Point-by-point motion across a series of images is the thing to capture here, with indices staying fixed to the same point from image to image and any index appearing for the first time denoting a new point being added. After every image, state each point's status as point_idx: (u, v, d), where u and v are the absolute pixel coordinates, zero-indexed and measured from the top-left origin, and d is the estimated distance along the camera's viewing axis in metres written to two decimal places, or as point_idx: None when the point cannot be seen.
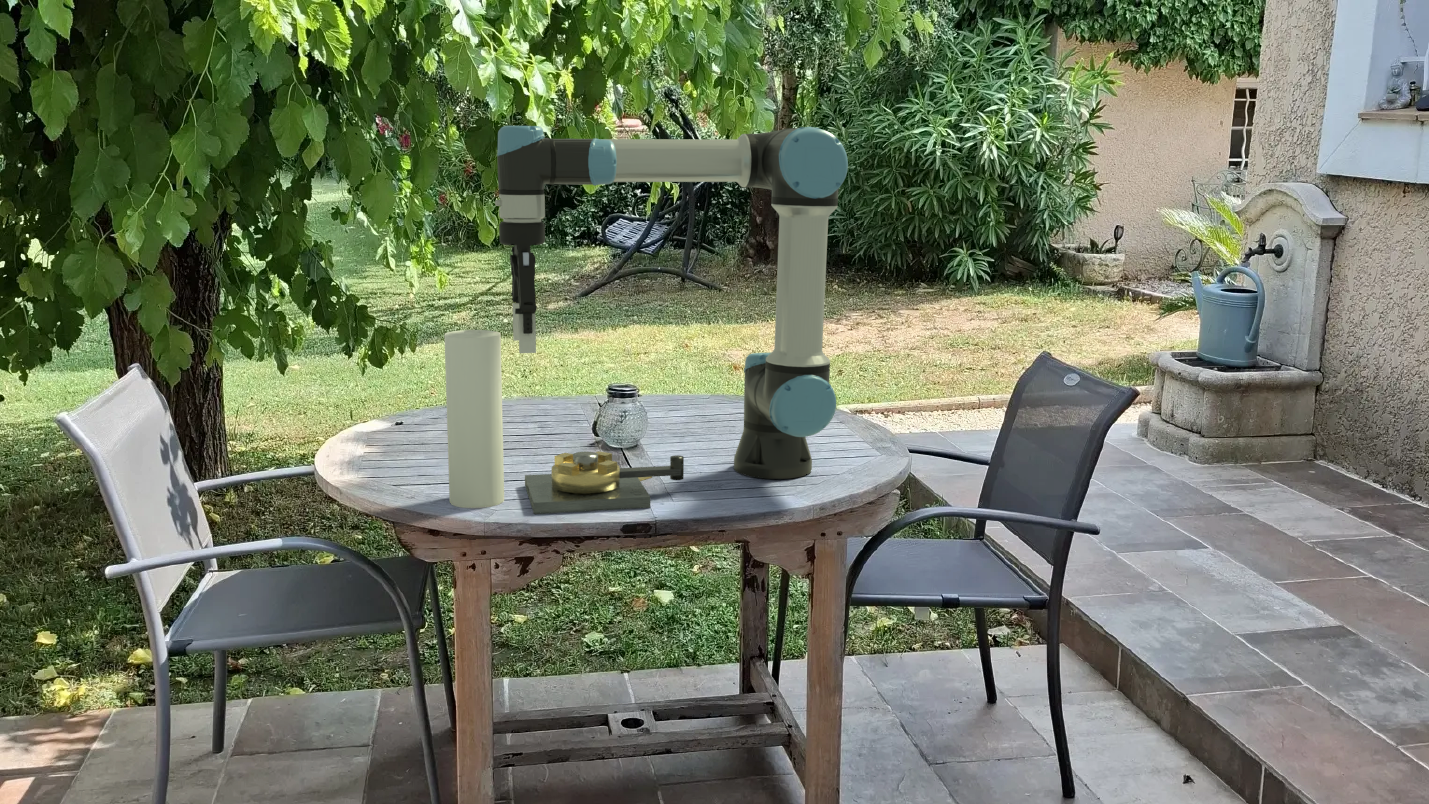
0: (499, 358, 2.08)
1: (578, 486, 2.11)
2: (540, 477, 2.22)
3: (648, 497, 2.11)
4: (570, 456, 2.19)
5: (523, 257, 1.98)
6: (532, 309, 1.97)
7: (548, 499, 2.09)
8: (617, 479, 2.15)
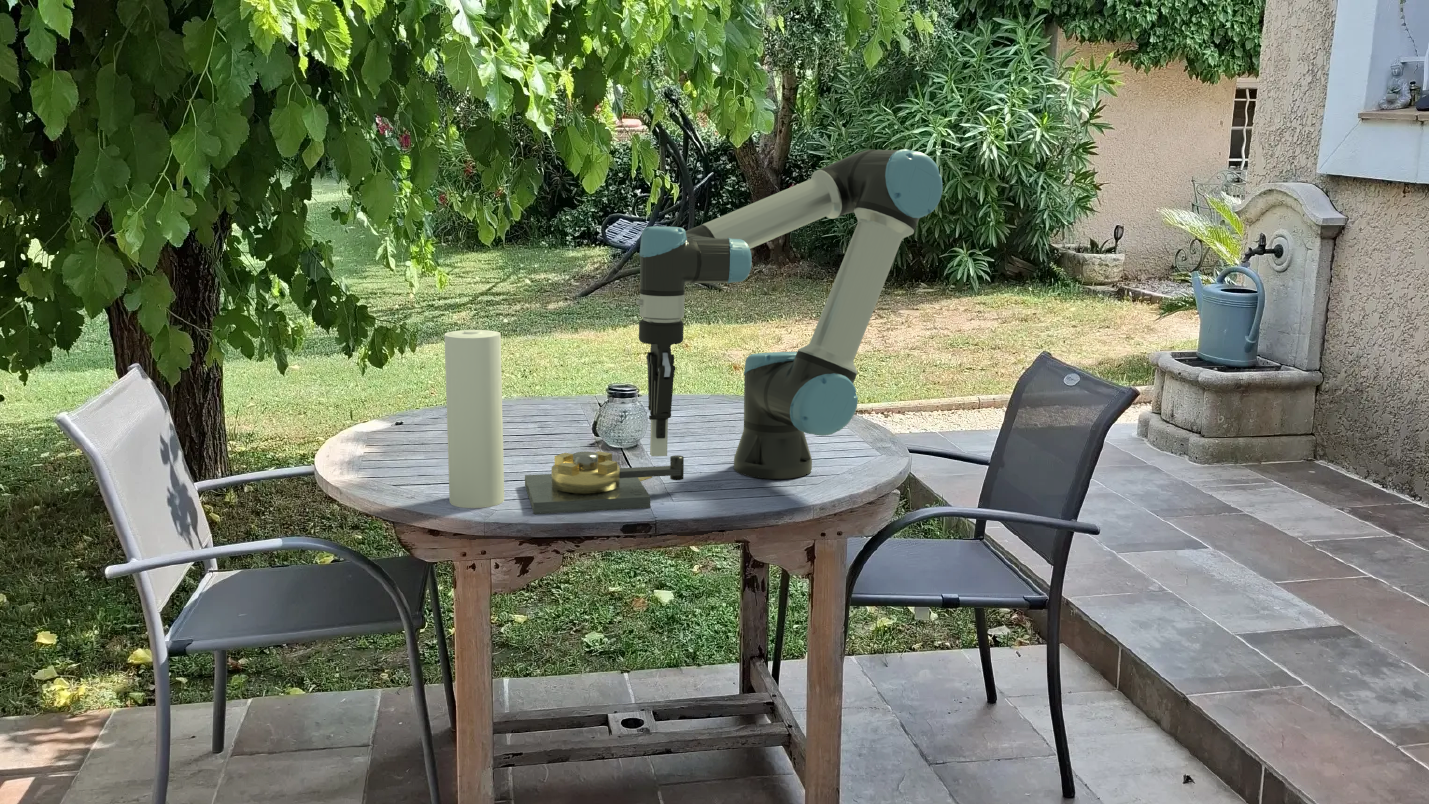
0: (499, 358, 2.08)
1: (578, 486, 2.11)
2: (540, 477, 2.22)
3: (648, 497, 2.11)
4: (570, 456, 2.19)
5: (665, 372, 2.02)
6: (667, 416, 2.06)
7: (548, 499, 2.09)
8: (617, 479, 2.15)
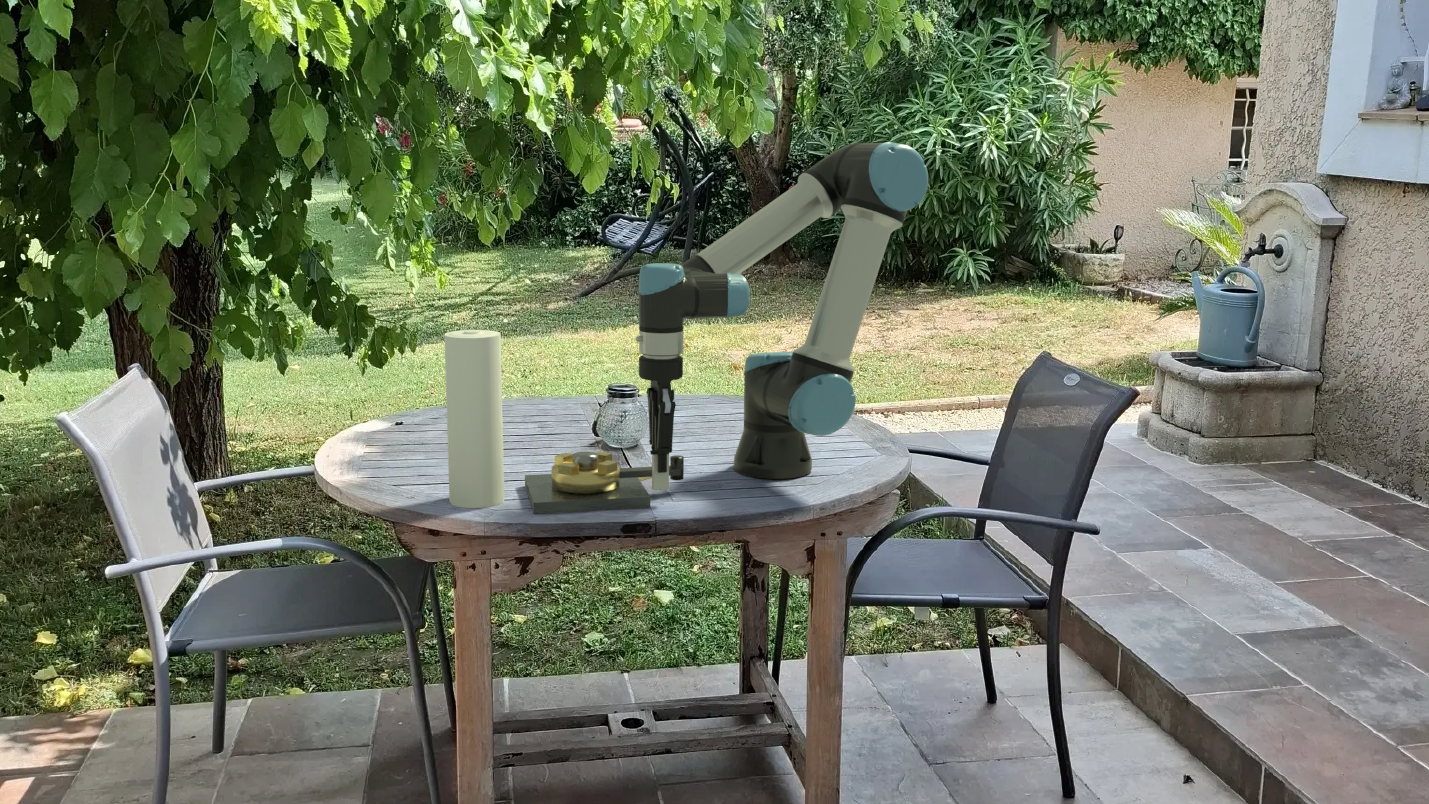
0: (499, 358, 2.08)
1: (578, 486, 2.11)
2: (540, 477, 2.22)
3: (648, 497, 2.11)
4: (570, 456, 2.19)
5: (665, 408, 2.04)
6: (668, 451, 2.08)
7: (548, 499, 2.09)
8: (617, 479, 2.15)
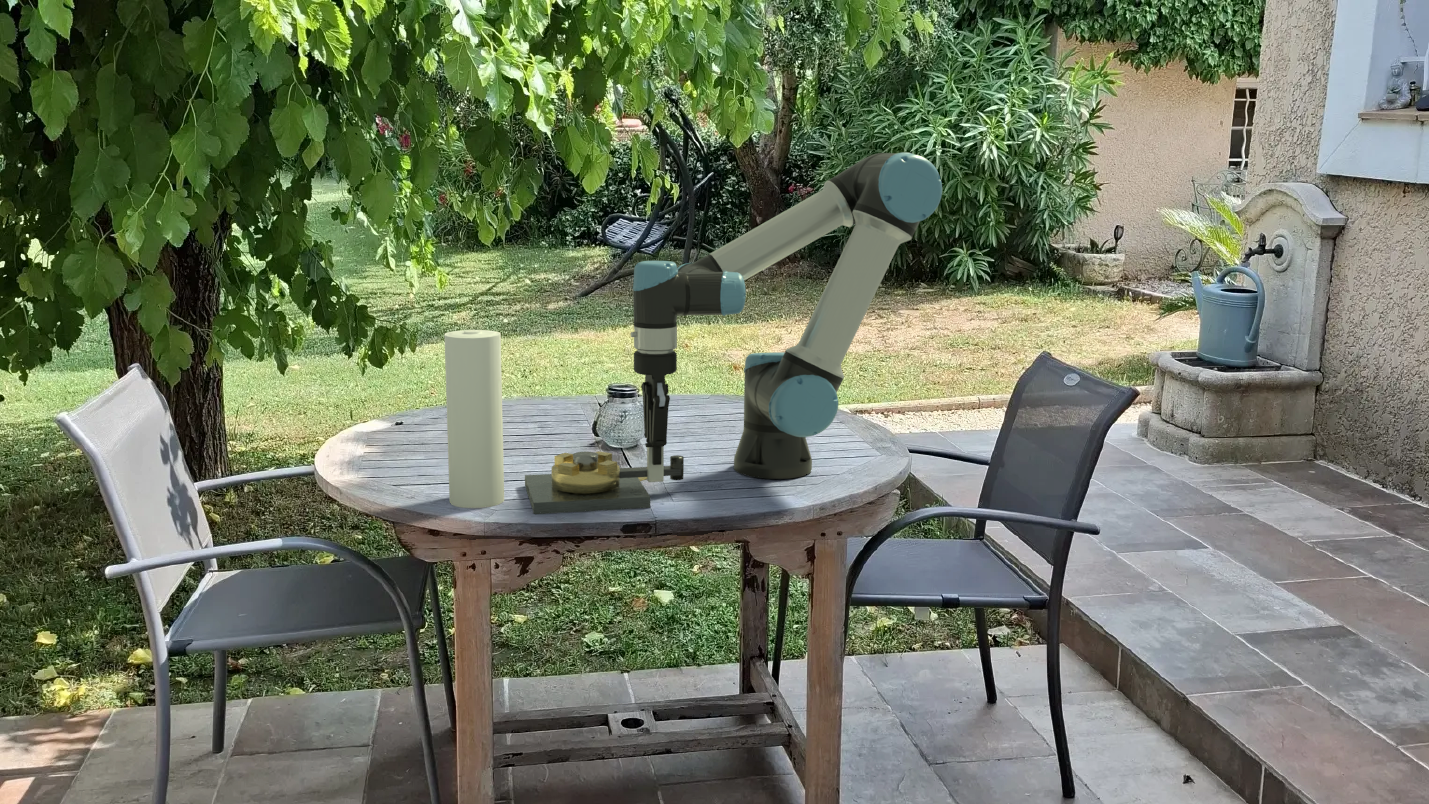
0: (499, 358, 2.08)
1: (579, 486, 2.11)
2: (540, 477, 2.22)
3: (648, 497, 2.11)
4: (570, 456, 2.19)
5: (660, 402, 2.09)
6: (663, 443, 2.13)
7: (548, 499, 2.09)
8: (617, 479, 2.15)
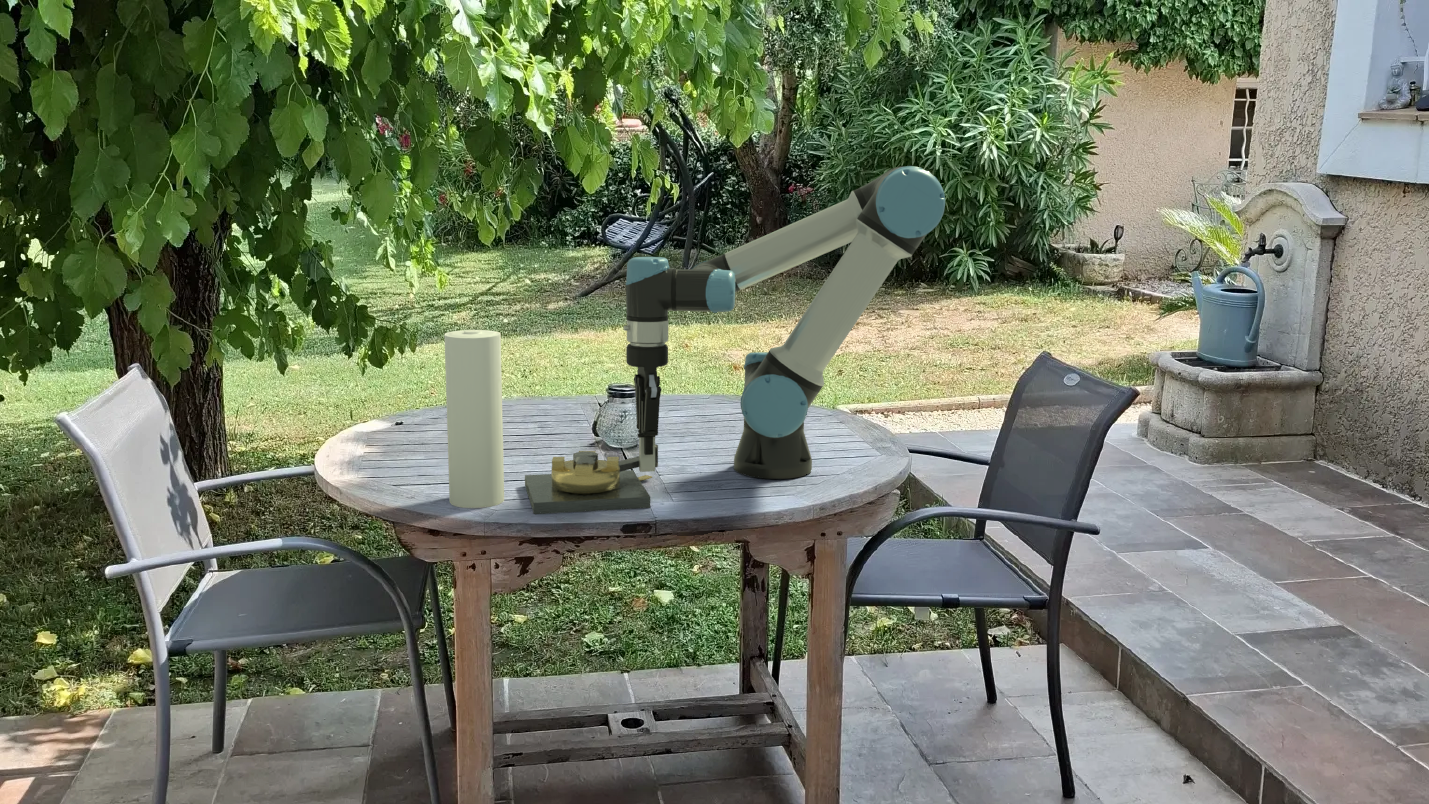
0: (499, 358, 2.08)
1: (599, 485, 2.12)
2: (540, 477, 2.22)
3: (648, 497, 2.11)
4: (564, 459, 2.17)
5: (651, 393, 2.16)
6: (654, 434, 2.20)
7: (548, 499, 2.09)
8: None
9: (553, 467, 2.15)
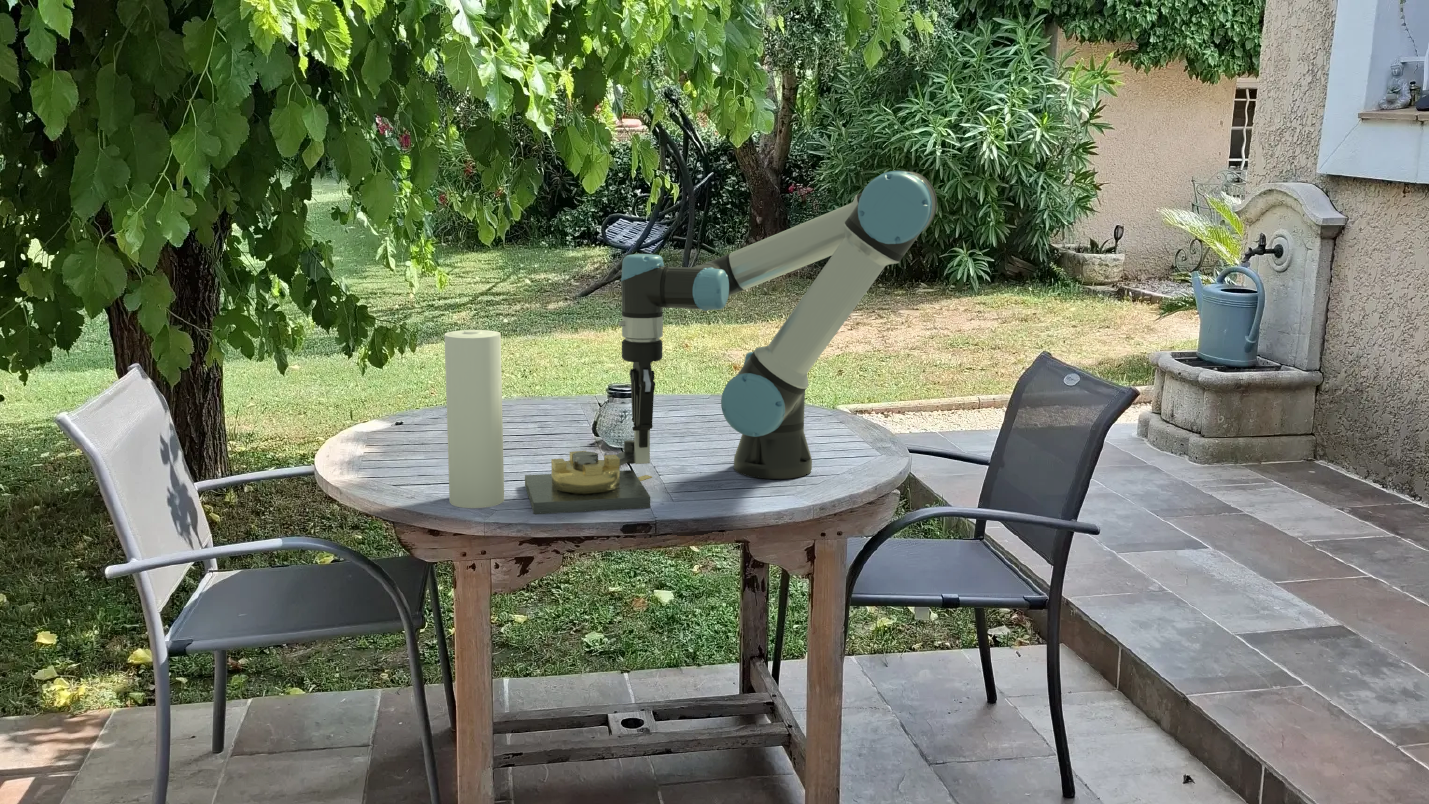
0: (499, 358, 2.08)
1: (608, 484, 2.13)
2: (540, 477, 2.22)
3: (648, 497, 2.11)
4: (563, 461, 2.15)
5: (645, 387, 2.21)
6: (648, 427, 2.25)
7: (548, 499, 2.09)
8: None
9: (556, 469, 2.13)
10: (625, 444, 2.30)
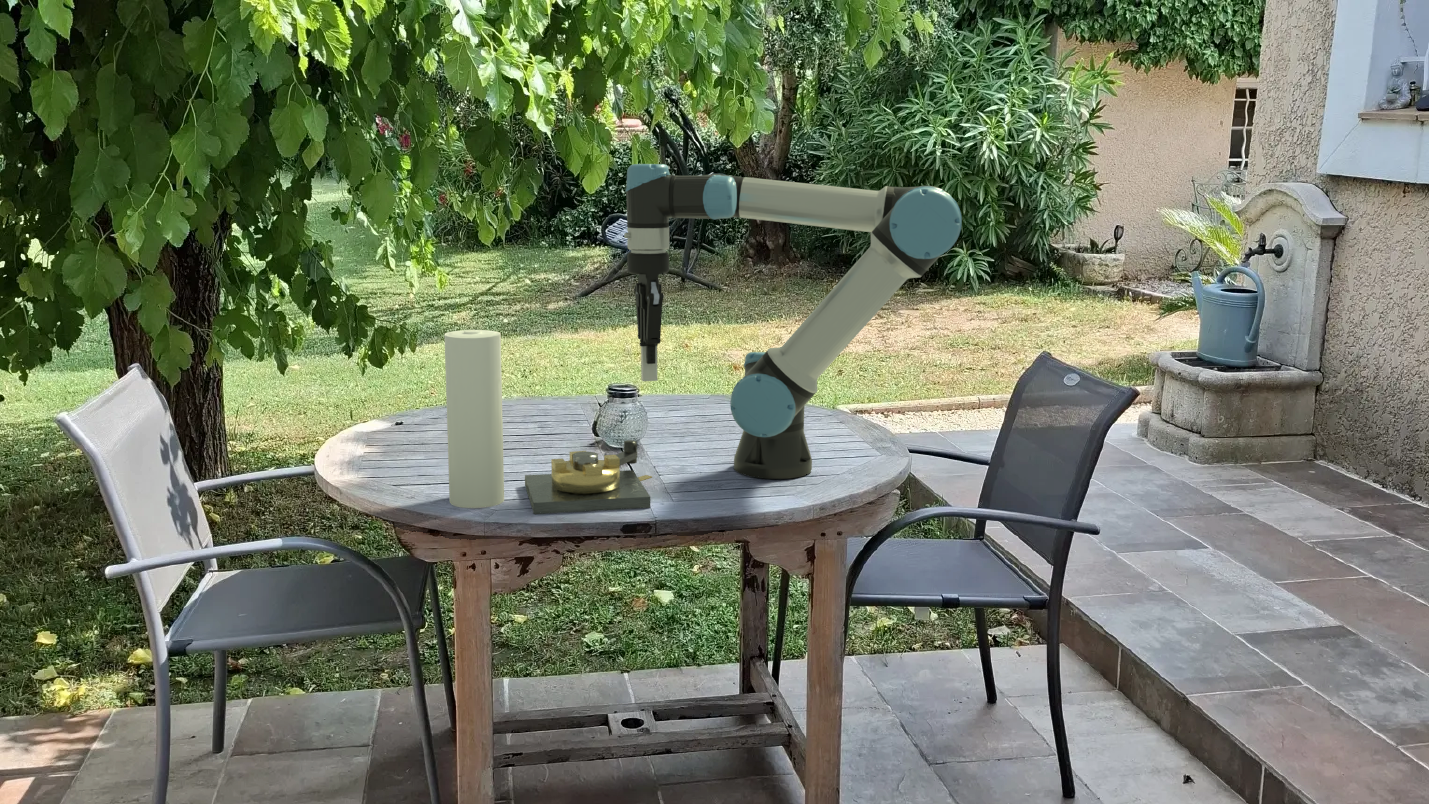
0: (499, 358, 2.08)
1: (608, 484, 2.13)
2: (540, 477, 2.22)
3: (648, 497, 2.11)
4: (563, 461, 2.15)
5: (654, 299, 2.15)
6: (657, 342, 2.20)
7: (548, 499, 2.09)
8: None
9: (556, 469, 2.13)
10: (625, 444, 2.30)
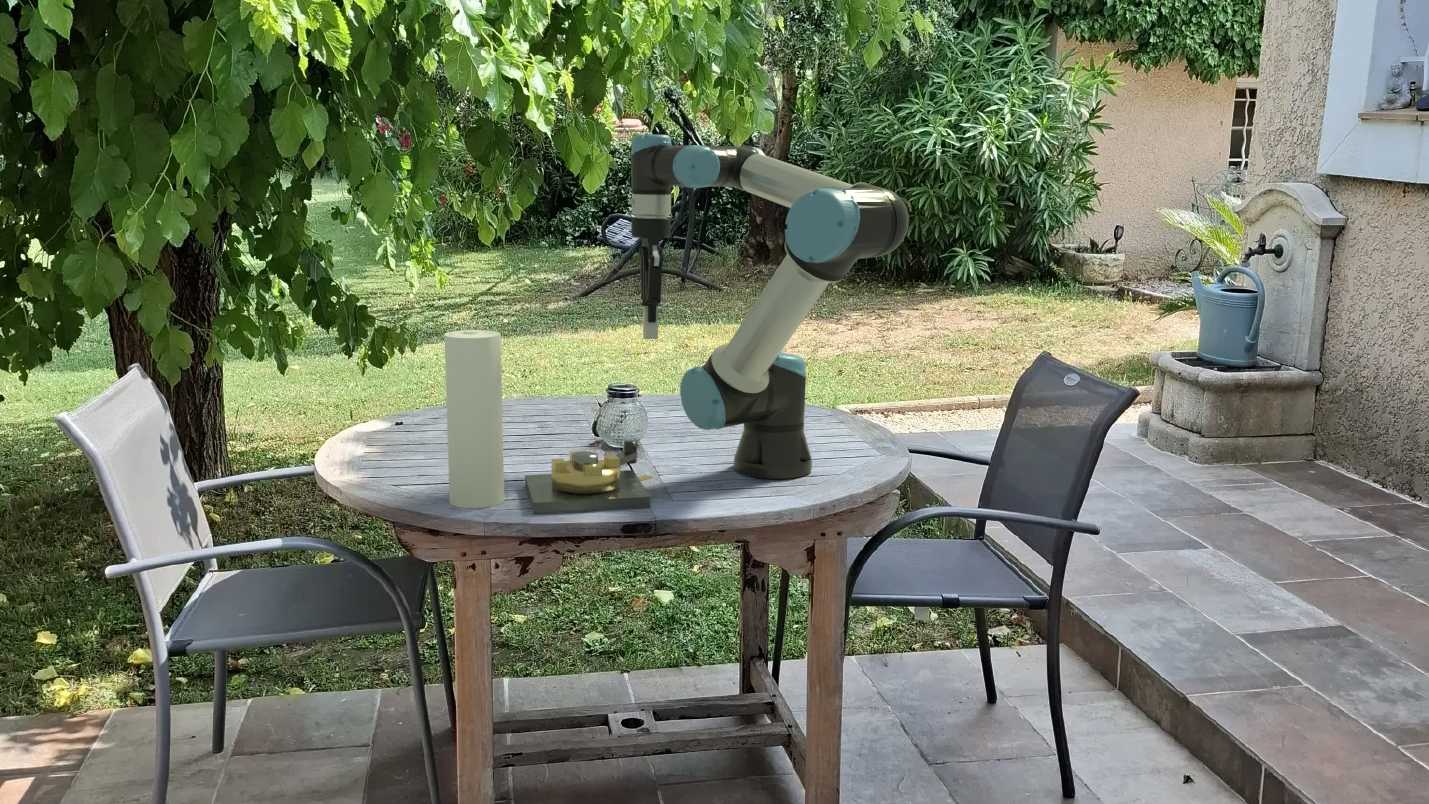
0: (499, 358, 2.08)
1: (608, 484, 2.13)
2: (540, 477, 2.22)
3: (648, 497, 2.11)
4: (563, 461, 2.15)
5: (654, 261, 2.30)
6: (657, 302, 2.34)
7: (548, 499, 2.09)
8: None
9: (556, 469, 2.13)
10: (625, 444, 2.30)
